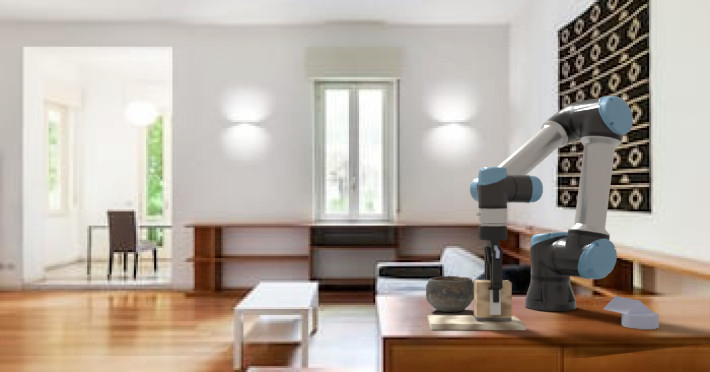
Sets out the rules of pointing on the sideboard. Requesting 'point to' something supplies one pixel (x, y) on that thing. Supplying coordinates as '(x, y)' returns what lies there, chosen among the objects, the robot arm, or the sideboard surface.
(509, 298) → the block
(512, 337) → the sideboard surface
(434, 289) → the bowl
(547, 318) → the sideboard surface
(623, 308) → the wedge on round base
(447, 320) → the board
